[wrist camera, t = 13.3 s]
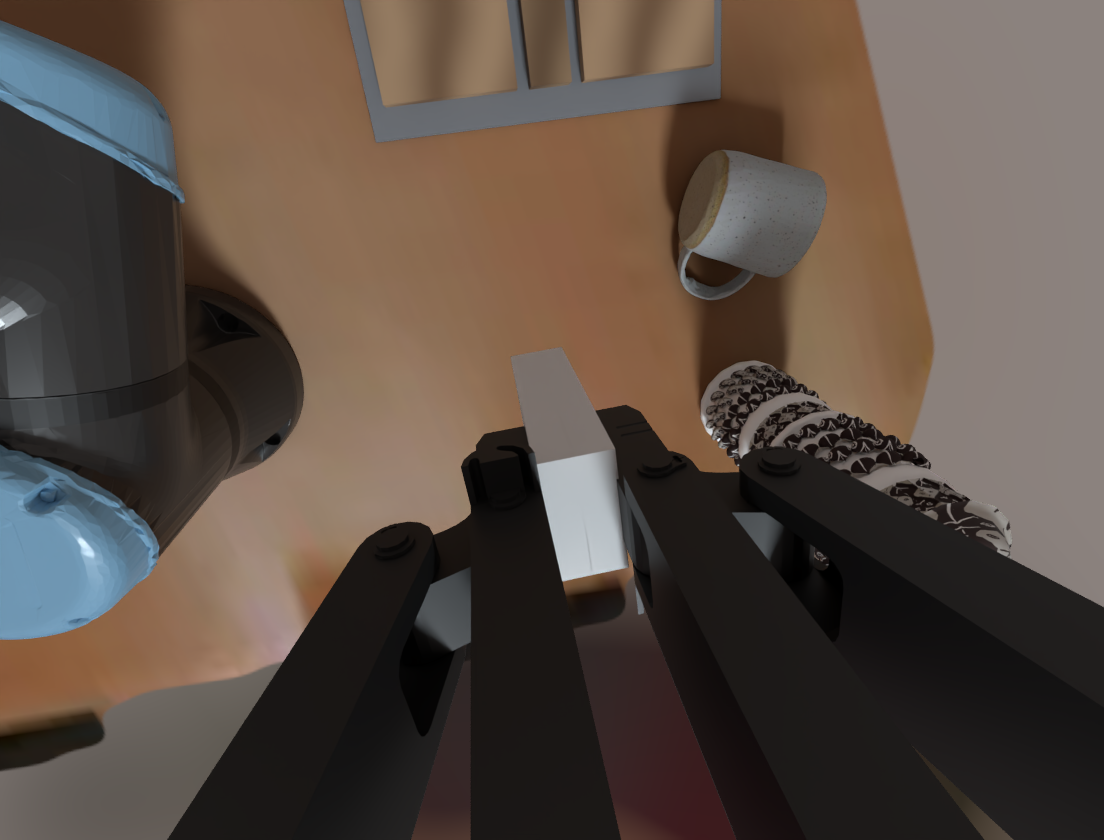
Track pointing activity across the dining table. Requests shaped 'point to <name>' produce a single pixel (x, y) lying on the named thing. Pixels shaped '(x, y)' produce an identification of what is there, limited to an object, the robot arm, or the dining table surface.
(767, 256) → the ceramic mug
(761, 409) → the decorative candle
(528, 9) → the centre strip
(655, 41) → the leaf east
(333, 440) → the dining table surface
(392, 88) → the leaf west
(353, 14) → the underlay mat
